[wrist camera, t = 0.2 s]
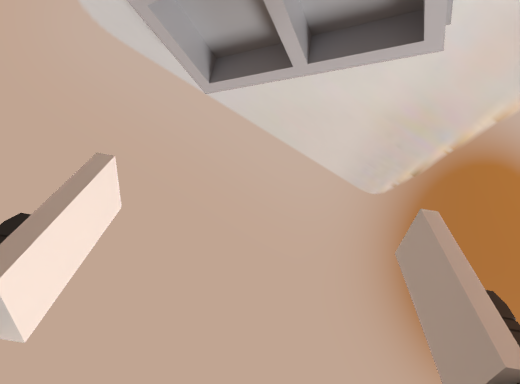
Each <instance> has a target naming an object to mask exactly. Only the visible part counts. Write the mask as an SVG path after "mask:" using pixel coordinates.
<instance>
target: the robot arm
mask: <svg viewBox="0 0 520 384" xmlns="http://www.w3.org/2000/svg"><path fill="white" fill-rule="evenodd" d="M120 208H121V199H120V191H119V184H118V175H117V168H116V160H115V156H113V155H107V154H101V153H96V154H95V155H94V156H93V157H92V158H91V159H90V160H89V161H88V162H86V163H85V164H84V165H83V166H82V167H81V168H80V169H79V170H78V171H77V172H76V173H75V174H74V175H73V176H72V177H71V178H70V179H69V180H67V181H66V182H65V183H64V184H63V185H62V186H61V187H60V188H59V189H58V190H57V191H56V192H55V193H54V194H53V195H52V196H50V197H49V198H48V199H47V200H46V201H45V202H44V203H43V204H42V205H41V206H40V207H39V208H38V209H37V210H36V211H35V212H34V213H33V214H31V215H30V214H24V213H20V214H18V215H16V216H14V217H12V218H10V219H8V220H6V221H4V222H3V223H2V224H1V225H0V339H5V340H11V341H17V342H23V343H24V342H26V340H27V339H28V337H29V336H30V335H31V333H32V332H33V331H34V329H35V328H36V326H37V325H38V324H39V322H40V321H41V319H42V318H43V317H44V315H45V314H46V312H47V311H48V309H49V308H50V307H51V305H52V304H53V303H54V301H55V300H56V298H57V297H58V296H59V294H60V293H61V291H62V290H63V288H64V287H65V285H66V284H67V283H68V281H69V280H70V279H71V277H72V276H73V274H74V273H75V272H76V270H77V269H78V267H79V266H80V264H81V263H82V262H83V260H84V259H85V258H86V256H87V255H88V253H89V252H90V250H91V249H92V248H93V246H94V245H95V244H96V242H97V241H98V239H99V238H100V236H101V235H102V234H103V232H104V231H105V230H106V228H107V227H108V225H109V224H110V222H111V221H112V219H113V218H114V217H115V215H116V214H117V213H118V211H119V210H120ZM395 255H396V257H397V260H398V263H399V266H400V268H401V271H402V273H403V277H404V279H405V282H406V285H407V288H408V290H409V293H410V296H411V298H412V301H413V304H414V306H415V309H416V312H417V315H418V317H419V320H420V323H421V326H422V329H423V331H424V334H425V337H426V340H427V342H428V345H429V348H430V350H431V353H432V356H433V359H434V362H435V364H436V367H437V370H438V372H439V375H440V378H441V381H442V384H520V325H519V324H518V322H516V321H515V320H516V319H515V317H514V315H513V314H512V312H511V311H510V309H509V308H508V306H507V305H506V304H505V303H504V302H503V301H502V300H501V299H500V298H499V297H498V296H497V295H496V294H495V293H494V292H493V291H488V290H485V289H484V287H483V286H482V284H481V282H480V281H479V279H478V277H477V276H476V274H475V272H474V271H473V269H472V267H471V266H470V264H469V262H468V261H467V259H466V257H465V256H464V254H463V252H462V251H461V249H460V248H459V246H458V244H457V242H456V241H455V239H454V237H453V236H452V234H451V233H450V231H449V229H448V228H447V226H446V224H445V223H444V221H443V219H442V218H441V216H440V214H439V213H438V212H437V211H431V210H425V209H420V210H419V212H418V214H417V216H416V217H415V219H414V221H413V223H412V224H411V226H410V228H409V230H408V231H407V233H406V235H405V237H404V238H403V240H402V242H401V244H400V245H399V247H398V249H397V251H396V253H395Z"/></svg>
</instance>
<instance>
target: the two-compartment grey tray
mask: <svg viewBox="0 0 520 384" xmlns="http://www.w3.org/2000/svg"><path fill="white" fill-rule="evenodd" d="M127 1H128V2H129V3H130V5H131V6H132V7H133V8H134V9H135V11H136V12H137V13H138V14H139V15H140V16H141V18H142V19H143V20H144V21H145V22H146V24H147V25H148V26H149V27H150V28H151V30H152V31H153V32H154V33H155V34H156V35H157V37H158V38H159V39H160V40H161V41H162V43H163V44H164V45H165V46H166V47H167V49H168V50H169V51H170V52H171V53H172V55H173V56H174V57H175V58H176V59H177V60H178V62H179V63H180V64H181V65H182V66H183V68H184V69H185V70H186V71H187V72H188V74H189V75H190V76H191V77H192V78H193V79H194V81H195V82H196V83H197V84H198V85H199V87H200V88H201V89H202V90H203V91H204V93H205V94H209V93H214V92H220V91H225V90H231V89H236V88H242V87H247V86H253V85H258V84H264V83H269V82H275V81H280V80H286V79H291V78H296V77H302V76H307V75H313V74H318V73H324V72H329V71H335V70H340V69H346V68H351V67H357V66H362V65H368V64H373V63H379V62H384V61H390V60H395V59H401V58H406V57H412V56H417V55H423V54H428V53H434V52H439V51H443V50H444V38H445V25H450V24H451V14H452V4H453V0H127Z"/></svg>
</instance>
